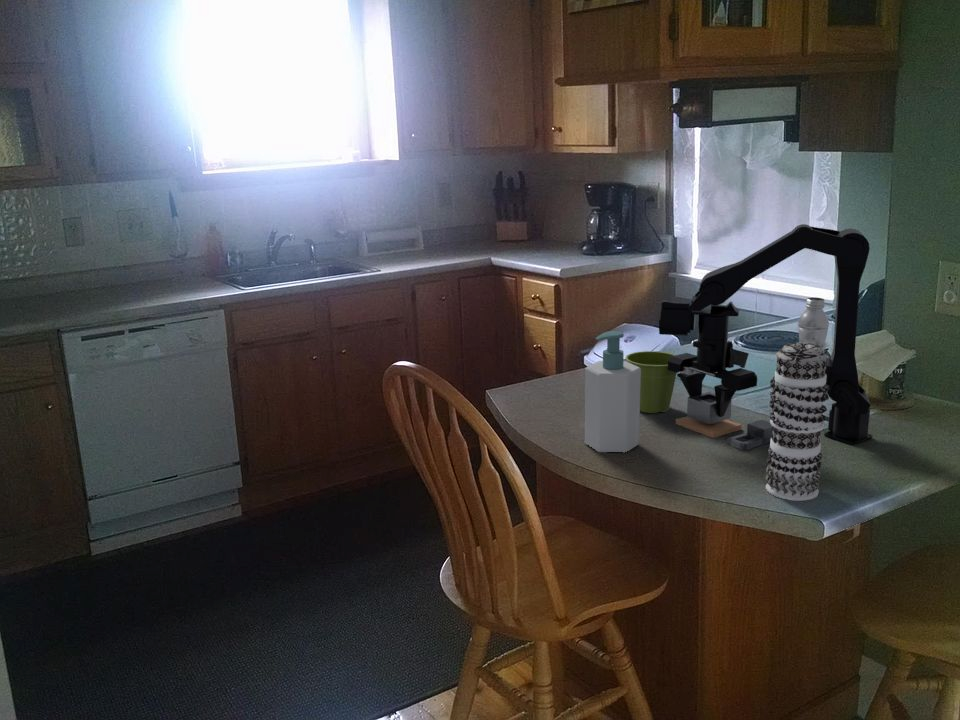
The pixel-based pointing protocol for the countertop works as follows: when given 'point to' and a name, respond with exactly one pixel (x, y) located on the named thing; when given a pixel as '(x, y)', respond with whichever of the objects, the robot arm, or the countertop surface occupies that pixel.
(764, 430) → the dark clasp block
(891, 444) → the countertop surface
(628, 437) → the soap bottle
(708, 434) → the tan board with knob
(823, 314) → the plastic bottle
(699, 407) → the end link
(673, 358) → the robot arm
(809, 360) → the decorative candle
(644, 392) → the plant pot
